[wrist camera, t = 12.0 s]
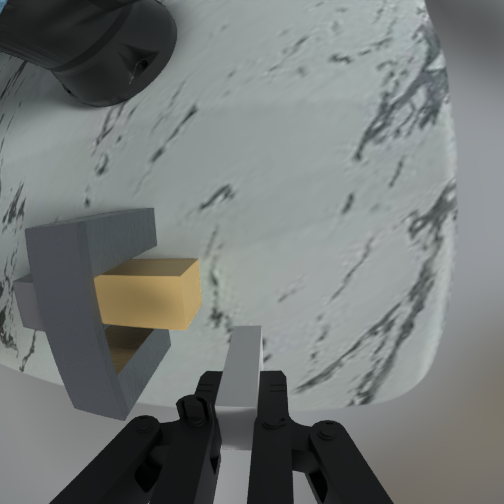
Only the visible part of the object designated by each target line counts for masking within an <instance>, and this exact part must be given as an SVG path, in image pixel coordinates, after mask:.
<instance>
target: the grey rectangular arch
mask: <svg viewBox="0 0 504 504" xmlns="http://www.w3.org/2000/svg"><path fill="white" fill-rule="evenodd" d="M25 237H26V245H27V252H28V258H29V264H30V270H31V275H32V280H33V285H34V290H35V294H36V298H37V303H38V307H39V310H40V314H41V318H42V322H43V325H44V329H45V332H46V335H47V338H48V342H49V345H50V348H51V351H52V354H53V356H54V359H55V362H56V365H57V367H58V370H59V373H60V375H61V378H62V380H63V383H64V385H65V388H66V390H67V392H68V395H69V397H70V399H71V401H72V404H73V406H74V408H76V409H79V410H83V411H86V412H90V413H94V414H97V415H101V416H105V417H109V418H114V419H118V420H122V421H125V420H126V418H127V416H128V415H129V413H130V411H131V410H132V408H133V406H134V405H135V403H136V401H137V400H138V398H139V396H140V395H141V393H142V392H143V390H144V388H145V387H146V385H147V383H148V382H149V380H150V378H151V377H152V375H153V374H154V372H155V370H156V369H157V367H158V365H159V364H160V362H161V361H162V359H163V357H164V356H165V354H166V353H167V351H168V349H169V348H170V346H171V342H170V336H169V330H168V329H156V328H143V327H132V326H121V325H111V326H109V327H108V328H107V329H106V330H105V331H104V327H103V322H102V318H101V314H100V309H99V304H98V299H97V294H96V289H95V284H94V278H96V277H97V276H99V275H101V274H103V273H105V272H107V271H109V270H110V269H112V268H114V267H116V266H118V265H120V264H122V263H124V262H126V261H128V260H129V259H131V258H133V257H135V256H137V255H139V254H141V253H143V252H145V251H147V250H149V249H151V248H153V247H155V246H157V240H156V229H155V217H154V208H148V209H138V210H127V211H118V212H109V213H103V214H97V215H92V216H86V217H81V218H76V219H70V220H65V221H60V222H55V223H50V224H46V225H41V226H36V227H32V228H27V229H25Z"/></svg>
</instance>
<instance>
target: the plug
mask: <svg viewBox="0 0 504 504" xmlns="http://www.w3.org/2000/svg"><path fill="white" fill-rule="evenodd" d="M94 284H95V289H96V294H97V299H98V304H99V309H100V314H101V318H102V322H103V324H111V325H121V326H132V327H143V328H156V329H171V330H187V328H188V326H189V325H190V323H191V321H192V320H193V318H194V316H195V314H196V313H197V311H198V309H199V308H200V306H201V304H202V299H201V287H200V274H199V260H198V259H129V260H128V261H126V262H124V263H122V264H120V265H118V266H116V267H114V268H112V269H110V270H109V271H107V272H105V273H103V274H101V275H99V276H97V277H96V278H94ZM13 287H14V291H15V296H16V300H17V304H18V308H19V312H20V316H21V319H22V323H23V326H24V327H26V328H31V329H35V330H40V331H44V332H45V329H44V325H43V322H42V318H41V314H40V310H39V307H38V303H37V298H36V294H35V290H34V285H33V280H32V275H31V274H29V275H27V276H24V277H22V278H19V279H17V280H15V281H13Z"/></svg>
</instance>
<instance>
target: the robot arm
mask: <svg viewBox="0 0 504 504" xmlns="http://www.w3.org/2000/svg"><path fill="white" fill-rule="evenodd" d="M176 39H177V28H176V24H175V21H174V19H173V18H172V16H171V14H170V13H169V11H168V10H167V8H166V7H165V6H164V5H163V4H162V3H160V2H159V1H157V0H0V51H1V52H4V53H7V54H9V55H12V56H15V57H17V58H20V59H23V60H25V61H28V62H30V63H33V64H35V65H38V66H40V67H43V68H45V69H47V70H50V71H51V72H52V73H53V74H54V76H55V77H56V78H57V79H58V80H59V81H60V82H61V83H62V85H63V87H64V89H65V90H66V91H67V93H68V94H69V95H70V96H72V97H73V98H74V99H76V100H78V101H81V102H83V103H86V104H88V105H91V106H110V105H114V104H117V103H120V102H123V101H125V100H127V99H129V98H131V97H133V96H134V95H136V94H137V93H139V92H140V91H142V90H143V89H144V88H146V87H147V86H148V85H149V84H150V83H151V82H152V81H153V80H154V79H155V78H156V77H157V76H158V75H159V74H160V73H161V71H162V70H163V69H164V67H165V66H166V64H167V63H168V61H169V59H170V57H171V55H172V53H173V51H174V48H175V44H176ZM176 406H177V410H178V413H179V417H180V419H179V420H177V421H173V422H167V423H159V421H158V420H157V419H156V418H154V417H153V416H148V415H143V416H139V417H135V418H134V419H132V420H131V421H130V422H129V423H128V424H127V425H126V426H125V427H124V428H123V429H122V430H121V432H119V434H118V435H117V436H116V437H115V438H114V439H113V440H112V441H111V442H110V443H109V444H108V445H107V446H106V447H105V448H104V449H103V450H102V451H101V452H100V453H99V454H98V456H96V457H95V458H94V460H92V461H91V462H90V463H89V464H88V466H86V467H85V468H84V469H83V470H82V472H80V473H79V475H78V476H76V478H75V479H73V480H72V481H71V482H70V483H69V485H67V486H66V488H65V489H63V490H62V491H61V492H60V493H59V494H58V495H57V496H56V497H55V498H54V499H53V500H52V501H51V502H50V503H49V504H148V503H149V504H213V501H214V496H215V490H216V484H217V479H218V474H219V468H220V463H221V454H220V448H221V444H222V448H223V449H226V450H252V454H251V465H250V476H249V487H248V497H247V504H294V499H293V476H292V475H293V473H292V470H294V471H299V472H303V473H305V476H306V478H307V480H308V483H309V485H310V487H311V489H312V492H313V494H314V496H315V499H316V501H317V503H318V504H394V503H393V502H392V500H391V499H390V497H389V496H388V494H387V493H386V491H385V490H384V488H383V487H382V485H381V484H380V482H379V481H378V479H377V478H376V476H375V474H374V473H373V471H372V470H371V468H370V467H369V466H368V464H367V462H366V461H365V459H364V458H363V456H362V455H361V453H360V451H359V450H358V448H357V447H356V445H355V444H354V442H353V440H352V439H351V437H350V436H349V434H348V433H347V431H346V430H345V428H344V427H343V426H342V425H341V424H340V423H337V422H335V421H330V420H325V421H320V422H318V423H315V424H314V425H313V426H312V427H310V426H304V425H300V424H298V423H296V422H294V421H293V420H292V419H291V418H290V416H289V413H288V398H287V382H286V376H285V375H284V374H283V372H282V371H263V349H262V326H234V330H233V334H232V338H231V342H230V346H229V350H228V354H227V358H226V362H225V366H224V370H223V371H206V372H205V373H204V374H203V375H202V376H201V377H200V380H199V382H198V385H197V388H196V391H195V394H194V395H187V396H184V397H182V398H181V399H179V400H178V401H177V403H176ZM149 501H150V502H149Z"/></svg>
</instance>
